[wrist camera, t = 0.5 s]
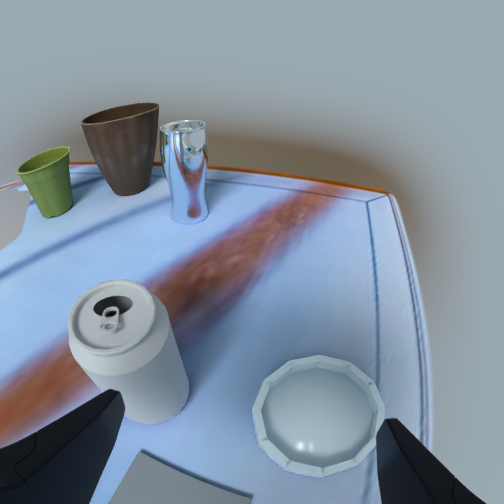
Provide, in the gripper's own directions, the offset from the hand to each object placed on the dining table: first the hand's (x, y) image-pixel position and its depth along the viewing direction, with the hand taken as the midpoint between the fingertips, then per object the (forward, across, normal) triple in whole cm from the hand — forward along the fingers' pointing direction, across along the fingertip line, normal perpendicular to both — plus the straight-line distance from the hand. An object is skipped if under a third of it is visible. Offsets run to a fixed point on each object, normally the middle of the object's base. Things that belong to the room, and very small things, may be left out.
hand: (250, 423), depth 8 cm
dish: (+11, -6, +13) cm, 18 cm away
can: (+12, +10, +13) cm, 20 cm away
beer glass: (+40, +14, +3) cm, 42 cm away
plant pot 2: (+48, +29, 0) cm, 56 cm away
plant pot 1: (+40, +42, +3) cm, 58 cm away
